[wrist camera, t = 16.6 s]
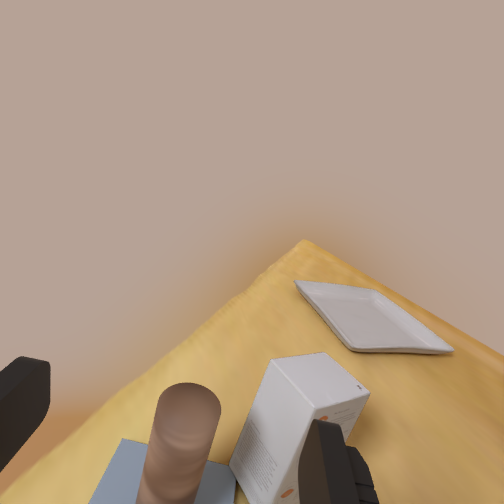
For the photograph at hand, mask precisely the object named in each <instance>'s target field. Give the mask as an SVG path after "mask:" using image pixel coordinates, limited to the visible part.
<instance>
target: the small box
mask: <svg viewBox="0 0 504 504" xmlns="http://www.w3.org/2000/svg"><path fill="white" fill-rule="evenodd" d="M369 395H370V392H369V391H368V390H367V389H366V388H365V387H364V386H363V385H362V384H361V383H360V382H359V381H357V380H356V379H355V378H354V377H353V376H352V375H351V374H350V373H348V372H347V371H346V370H345V369H344V368H343V367H341V366H340V365H339V364H338V363H337V362H336V361H335V360H333V359H332V358H331V357H330V356H329V355H327V354H326V353H325V352H321V353H314V354H307V355H299V356H292V357H284V358H277V359H270V362H269V364H268V367H267V369H266V372H265V374H264V377H263V379H262V382H261V384H260V387H259V389H258V392H257V394H256V397H255V399H254V402H253V404H252V407H251V409H250V412H249V414H248V417H247V419H246V422H245V424H244V427H243V429H242V432H241V434H240V437H239V439H238V442H237V444H236V447H235V449H234V452H233V454H232V457H231V459H230V462H229V467H230V468H231V470H232V472H233V474H234V476H235V477H236V479H237V481H238V483H239V485H240V486H241V488H242V490H243V492H244V494H245V495H246V497H247V499H248V501H249V503H250V504H300V501H299V488H298V464H299V458H300V454H301V451H302V449H303V446H304V443H305V440H306V437H307V434H308V431H309V428H310V425H311V423H312V421H313V419H318V420H322V421H327V422H332V423H337V424H339V425H340V427H341V429H342V433H343V437H344V441H345V442H346V440H347V438H348V437H349V435H350V433H351V431H352V429H353V427H354V425H355V423H356V421H357V419H358V417H359V415H360V413H361V411H362V409H363V407H364V405H365V403H366V401H367V399H368V397H369Z"/></svg>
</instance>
